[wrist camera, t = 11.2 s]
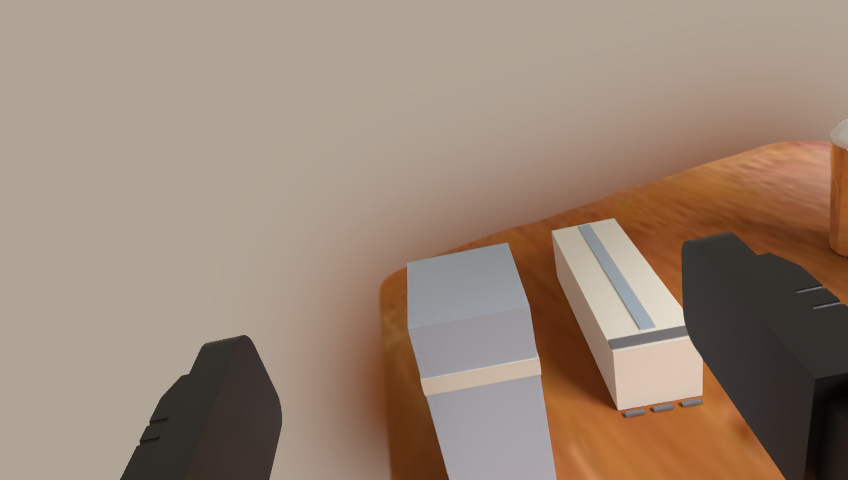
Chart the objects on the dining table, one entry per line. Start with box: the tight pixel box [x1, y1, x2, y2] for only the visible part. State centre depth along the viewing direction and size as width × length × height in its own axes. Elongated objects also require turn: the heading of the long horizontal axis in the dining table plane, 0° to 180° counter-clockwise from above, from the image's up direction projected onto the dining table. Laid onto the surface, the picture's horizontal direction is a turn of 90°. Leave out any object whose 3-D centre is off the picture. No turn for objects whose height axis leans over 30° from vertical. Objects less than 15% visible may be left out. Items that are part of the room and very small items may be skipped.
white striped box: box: [552, 218, 703, 417], centre depth 37 cm, size 15×4×4 cm, turn 2°
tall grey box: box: [407, 242, 557, 480], centre depth 26 cm, size 5×5×12 cm
